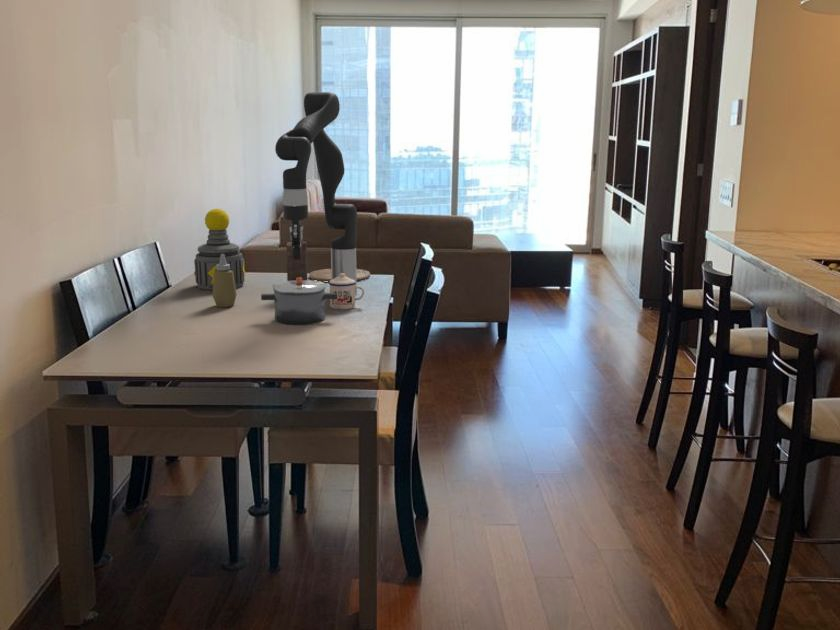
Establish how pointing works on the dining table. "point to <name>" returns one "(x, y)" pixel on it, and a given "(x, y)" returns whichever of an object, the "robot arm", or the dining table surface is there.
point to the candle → (296, 263)
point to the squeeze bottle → (224, 284)
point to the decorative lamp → (217, 252)
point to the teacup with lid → (344, 292)
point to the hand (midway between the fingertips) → (297, 259)
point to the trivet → (326, 275)
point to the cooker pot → (299, 307)
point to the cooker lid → (299, 286)
